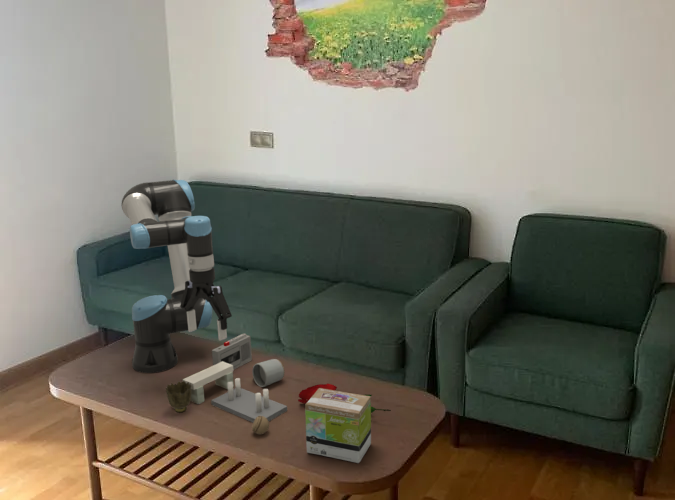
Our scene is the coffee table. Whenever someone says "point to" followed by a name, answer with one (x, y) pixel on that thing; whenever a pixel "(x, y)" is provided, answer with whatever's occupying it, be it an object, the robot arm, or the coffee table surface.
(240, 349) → the cassette player
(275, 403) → the peg stand
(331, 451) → the tea box
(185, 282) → the robot arm
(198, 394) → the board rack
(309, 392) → the flower
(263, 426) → the walnut
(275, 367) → the ceramic mug
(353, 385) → the coffee table surface
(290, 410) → the coffee table surface
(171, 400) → the cup
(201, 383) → the shelf board
